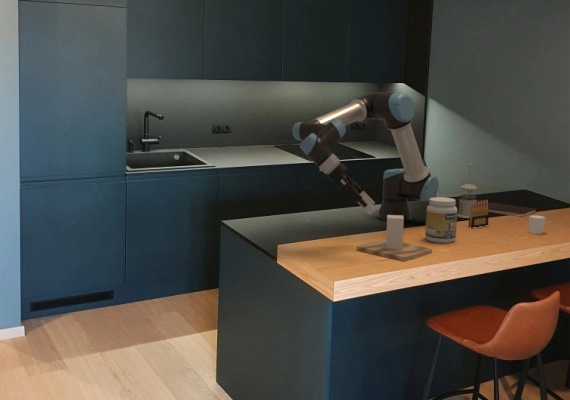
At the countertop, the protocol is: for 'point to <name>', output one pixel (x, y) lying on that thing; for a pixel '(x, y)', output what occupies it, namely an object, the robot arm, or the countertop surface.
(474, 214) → the ammunition clip
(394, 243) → the off-white block
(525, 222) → the countertop surface
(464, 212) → the french press
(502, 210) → the hardcover book
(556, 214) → the countertop surface
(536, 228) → the white cup
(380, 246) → the wooden board
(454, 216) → the supplement tub
